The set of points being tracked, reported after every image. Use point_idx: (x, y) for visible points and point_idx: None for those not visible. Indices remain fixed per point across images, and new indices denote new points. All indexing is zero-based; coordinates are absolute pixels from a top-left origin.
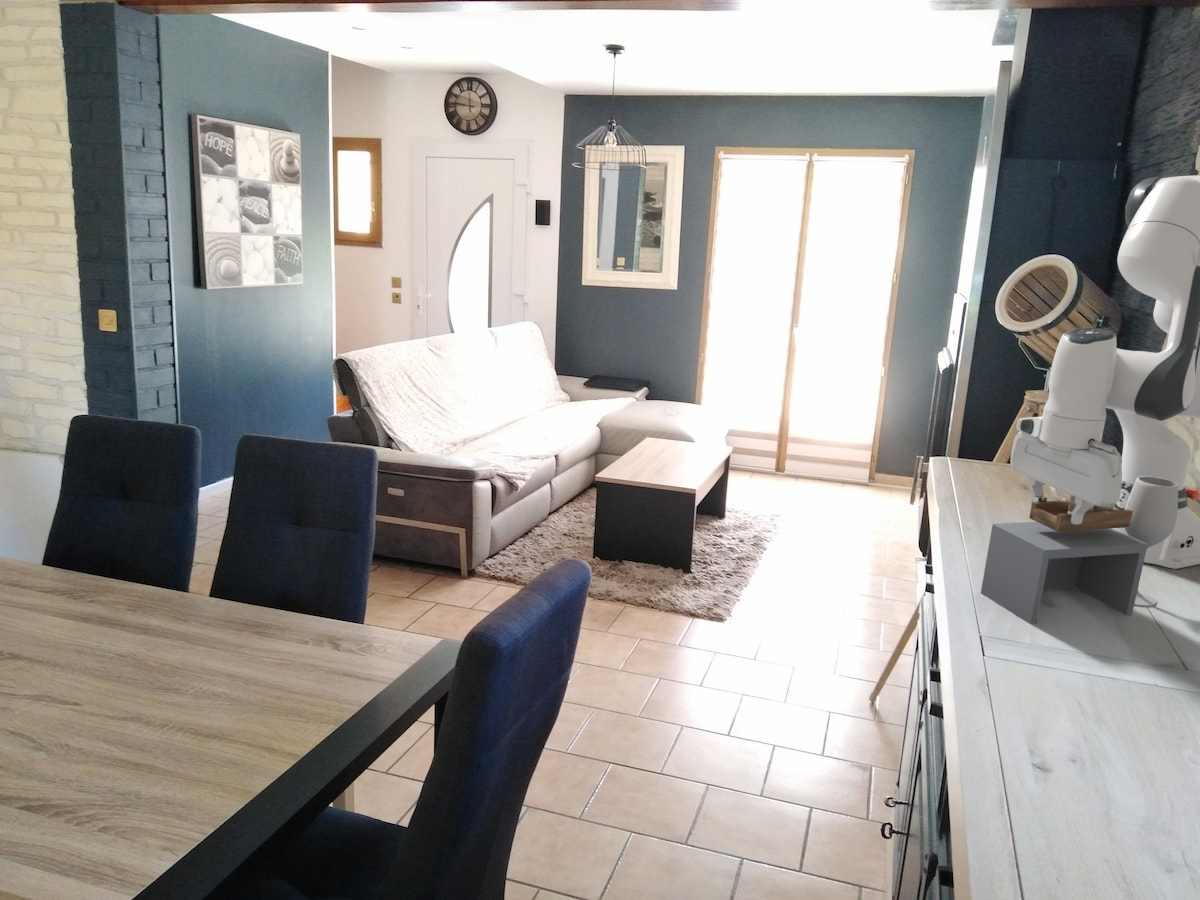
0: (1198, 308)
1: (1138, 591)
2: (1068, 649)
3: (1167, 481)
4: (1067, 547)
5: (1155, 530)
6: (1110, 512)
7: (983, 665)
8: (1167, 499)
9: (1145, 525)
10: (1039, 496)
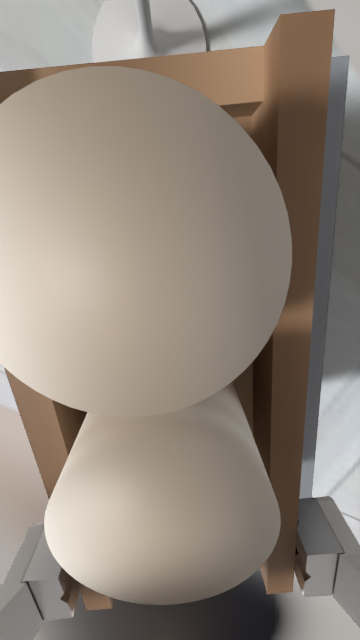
0: None
1: (157, 32)
2: (338, 390)
3: None
4: (302, 464)
5: None
6: (312, 299)
7: (342, 514)
8: None
9: None
10: (42, 604)
